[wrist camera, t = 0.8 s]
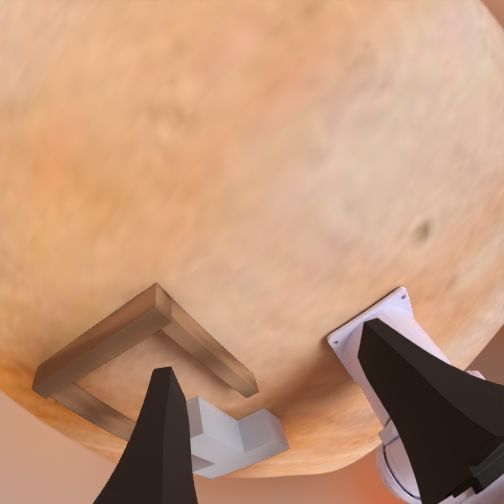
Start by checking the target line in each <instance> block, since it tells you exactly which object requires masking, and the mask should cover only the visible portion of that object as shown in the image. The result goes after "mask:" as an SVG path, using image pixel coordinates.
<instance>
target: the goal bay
mask: <svg viewBox="0 0 504 504" xmlns="http://www.w3.org/2000/svg"><path fill="white" fill-rule="evenodd" d="M160 329H161V330H162V331H163V332H164V333H166V334H167V335H168V336H169V337H170V338H171V339H173V340H174V341H175V342H176V343H177V344H178V345H180V346H181V347H182V348H183V349H184V350H186V351H187V352H188V353H189V354H190V355H192V356H193V357H194V358H195V359H196V360H198V361H199V362H200V363H201V364H203V365H204V366H205V367H206V368H208V369H209V370H210V371H211V372H213V373H214V374H215V375H217V376H218V377H219V378H220V379H222V380H223V381H224V382H226V383H227V384H228V385H230V386H231V387H232V388H234V389H235V390H236V391H238V392H239V393H240V394H242V395H243V396H244V397H246V398H248V397H250V396H252V395H254V394H256V393H258V392H259V390H258V387H257V384H256V380H255V377H254V374H253V373H252V372H251V371H250V370H248V369H247V368H246V367H245V366H244V365H243V364H242V363H240V362H239V361H238V360H237V359H236V358H235V357H234V356H233V355H232V354H230V353H229V352H228V351H227V350H226V349H225V348H224V347H223V346H222V345H220V344H219V343H218V342H217V341H216V340H215V339H214V338H213V337H212V336H211V335H210V334H209V333H208V332H206V331H205V330H204V329H203V328H202V327H201V326H200V325H199V324H198V323H197V322H196V321H195V320H194V319H193V318H192V317H191V316H190V315H189V314H188V313H187V312H186V311H185V310H184V309H183V308H181V307H180V306H179V305H178V304H177V303H176V302H175V301H174V300H173V299H172V298H171V297H170V296H169V295H168V294H167V293H166V292H165V291H164V290H163V289H162V287H161V286H160V285H159V284H158V283H155V284H154V285H152V286H151V287H149V288H148V289H147V290H145V291H144V292H142V293H141V294H139V295H138V296H136V297H135V298H134V299H132V300H131V301H129V302H128V303H126V304H125V305H124V306H122V307H121V308H119V309H118V310H116V311H115V312H114V313H112V314H111V315H109V316H108V317H106V318H105V319H104V320H102V321H101V322H99V323H98V324H97V325H95V326H94V327H92V328H91V329H90V330H88V331H87V332H85V333H84V334H83V335H81V336H80V337H78V338H77V339H76V340H74V341H73V342H72V343H70V344H69V345H67V346H66V347H65V348H63V349H62V350H60V351H59V352H58V353H56V354H55V355H54V356H52V357H51V358H50V359H48V360H47V361H45V362H44V363H43V364H41V365H40V366H39V367H38V369H37V372H36V375H35V379H34V382H33V386H32V390H34V391H35V392H36V393H38V394H39V395H41V396H42V397H44V398H45V399H46V398H48V397H51V398H53V399H54V400H56V401H57V402H59V403H61V404H62V405H64V406H65V407H67V408H68V409H70V410H72V411H73V412H75V413H76V414H78V415H80V416H81V417H83V418H85V419H87V420H88V421H90V422H92V423H93V424H95V425H97V426H99V427H101V428H102V429H104V430H106V431H108V432H110V433H112V434H114V435H116V436H118V437H120V438H122V439H124V440H126V441H128V442H129V439H130V437H131V434H132V432H133V430H134V427H135V425H136V422H135V421H133V420H131V419H129V418H128V417H126V416H124V415H123V414H121V413H119V412H117V411H116V410H114V409H112V408H111V407H109V406H107V405H106V404H104V403H103V402H101V401H99V400H98V399H96V398H95V397H93V396H92V395H90V394H89V393H87V392H86V391H84V390H83V389H81V388H80V387H78V386H77V385H75V384H74V383H73V382H75V381H77V380H78V379H80V378H82V377H83V376H85V375H87V374H88V373H90V372H92V371H93V370H95V369H97V368H98V367H100V366H101V365H103V364H105V363H106V362H108V361H110V360H111V359H113V358H115V357H116V356H118V355H120V354H121V353H123V352H125V351H126V350H128V349H129V348H131V347H133V346H134V345H136V344H138V343H139V342H141V341H142V340H144V339H146V338H147V337H149V336H151V335H152V334H154V333H155V332H157V331H159V330H160Z"/></svg>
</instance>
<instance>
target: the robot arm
mask: <svg viewBox="0 0 504 504" xmlns="http://www.w3.org/2000/svg"><path fill="white" fill-rule="evenodd" d="M327 341H328V343H329V345H330V346H331V348H332V349H333V350H334V352H335V353H336V355H337V356H338V358H339V359H340V361H341V362H342V364H343V365H344V367H345V368H346V370H347V371H348V373H349V374H350V376H351V377H352V378H353V380H354V381H355V383H359V385H360V387H361V389H362V390H363V392H364V394H365V396H366V397H367V399H368V401H369V403H370V404H371V406H372V408H373V410H374V412H375V413H376V415H377V417H378V419H379V421H380V422H381V424H382V426H383V428H384V429H383V430H382V431H380V432H379V433H378V435H379V437H380V439H381V440H382V443H381V444H380V445H379V447H378V449H377V459H376V463H377V468H378V472H379V474H380V477H381V479H382V481H383V482H384V484H385V486H386V487H387V488H388V490H389V491H390V492H391V493H392V494H393V495H394V496H396V497H397V498H399V499H401V500H403V501H405V502H406V503H407V504H504V386H503V385H500V384H496V383H493V382H490V381H487V380H485V379H484V377H483V376H482V375H481V374H480V373H479V372H478V371H472V372H471V371H470V370H468V371H467V372H464V371H462V370H460V369H458V368H456V367H454V366H452V364H451V363H450V362H449V361H448V359H447V358H446V357H445V356H444V354H443V353H442V352H441V351H440V349H439V348H438V347H437V346H436V345H435V343H434V342H433V341H432V340H431V339H430V337H429V336H428V335H427V334H426V333H425V331H424V330H423V329H422V328H421V327H420V326H419V324H418V323H417V322H416V321H415V320H414V317H413V313H412V309H411V305H410V301H409V297H408V293H407V290H406V289H405V287H400V288H398V289H397V290H395V291H394V292H392V293H391V294H390V295H388V296H387V297H385V298H384V299H383V300H381V301H380V302H378V303H377V304H375V305H374V306H372V307H371V308H369V309H368V310H367V311H365V312H364V313H362V314H361V315H359V316H358V317H356V318H355V319H353V320H352V321H350V322H348V323H347V324H345V325H344V326H342V327H341V328H339V329H338V330H336V331H334V332H333V333H331V334H330V335H329V336H328V337H327ZM93 504H198V502H197V497H196V492H195V487H194V481H193V472H192V458H191V442H190V424H189V417H188V411H187V405H186V399H185V396H184V394H183V392H182V390H181V388H180V385H179V383H178V381H177V379H176V376H175V374H174V372H173V369H172V367H171V366H170V367H163V368H157V369H154V370H153V372H152V376H151V380H150V383H149V387H148V390H147V393H146V397H145V400H144V403H143V406H142V408H141V411H140V414H139V417H138V420H137V422H136V425H135V427H134V430H133V432H132V434H131V437H130V439H129V442H128V444H127V446H126V448H125V450H124V453H123V455H122V457H121V459H120V461H119V463H118V464H117V466H116V468H115V470H114V472H113V473H112V475H111V477H110V479H109V481H108V482H107V484H106V485H105V487H104V488H103V490H102V491H101V493H100V494H99V496H98V497H97V499H96V500H95V501H94V503H93Z"/></svg>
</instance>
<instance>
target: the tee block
mask: <svg viewBox="0 0 504 504" xmlns="http://www.w3.org/2000/svg"><path fill="white" fill-rule="evenodd" d="M186 405H187V411H188V417H189V424H190V442H191V458H192V472H193V473H195V474H198V475H201V476H204V477H207V478H210V479H213V478H216V477H219V476H222V475H225V474H228V473H231V472H233V471H236V470H239V469H242V468H244V467H247V466H250V465H252V464H255V463H257V462H260V461H262V460H265V459H267V458H269V457H272V456H274V455H277V454H279V453H281V452H283V451H286V450H288V449H290V448H289V445H288V442H287V439H286V436H285V434H284V431H283V428H282V425H281V422H280V419H279V418H278V417H276V416H275V415H273V414H272V413H270V412H269V411H268V410H266V409H265V408H263V409H261V410H259V411H257V412H255V413H253V414H250V415H248V416H246V417H244V418H242V419H240V420H238V421H237V420H235V419H233V418H232V417H230V416H229V415H227V414H225V413H224V412H222V411H220V410H219V409H217V408H216V407H214V406H213V405H211V404H209V403H208V402H206V401H205V400H203V399H202V398H200V397H199V396H197V397H195V398H193V399H191V400H189V401H187V402H186Z"/></svg>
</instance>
